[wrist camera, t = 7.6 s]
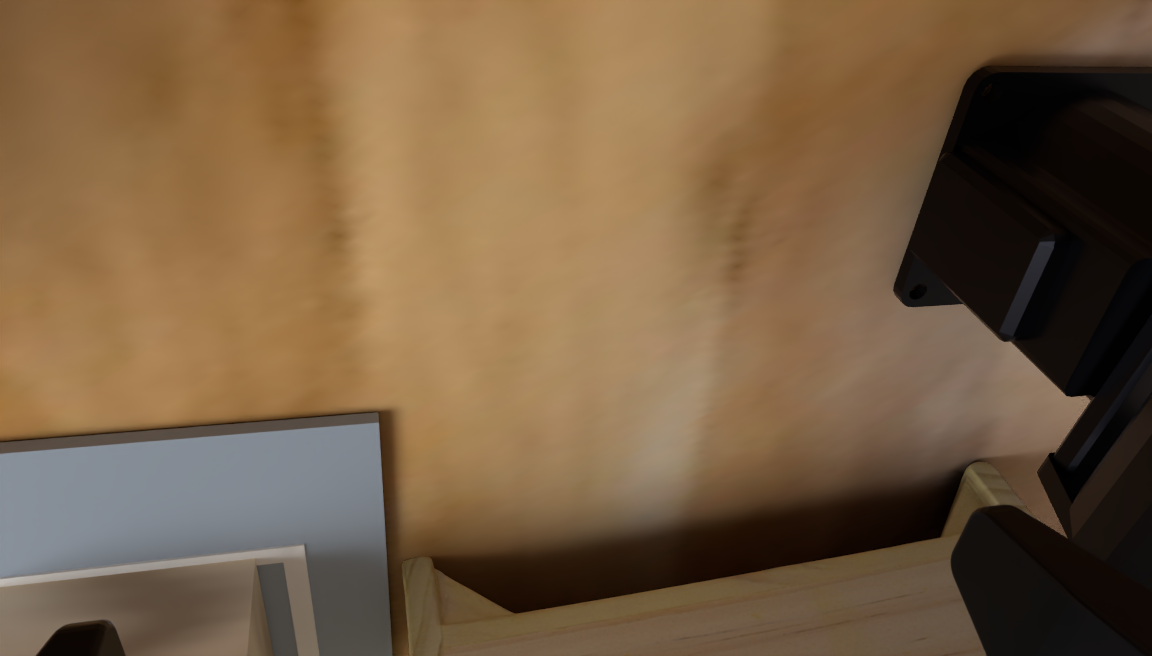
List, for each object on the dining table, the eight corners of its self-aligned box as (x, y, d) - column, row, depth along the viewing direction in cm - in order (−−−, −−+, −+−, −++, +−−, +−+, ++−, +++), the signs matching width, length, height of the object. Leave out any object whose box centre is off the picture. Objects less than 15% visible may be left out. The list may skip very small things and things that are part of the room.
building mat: (378, 412, 23) (379, 424, 22) (395, 715, 31) (396, 727, 30) (-271, 463, 19) (-283, 479, 19) (-60, 787, 27) (-65, 802, 27)
